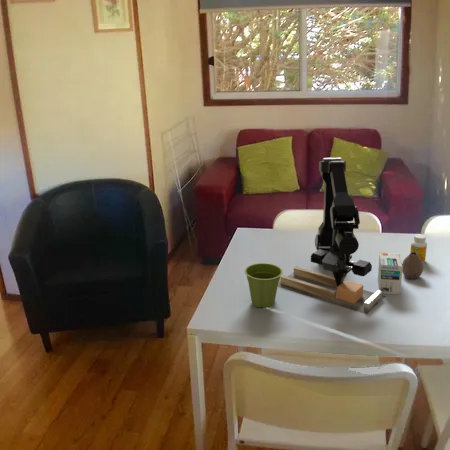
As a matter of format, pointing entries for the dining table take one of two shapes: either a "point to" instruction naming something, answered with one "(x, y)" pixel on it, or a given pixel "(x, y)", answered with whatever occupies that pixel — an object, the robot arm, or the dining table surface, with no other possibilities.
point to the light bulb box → (390, 273)
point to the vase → (412, 266)
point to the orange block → (350, 291)
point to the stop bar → (372, 300)
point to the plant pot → (263, 283)
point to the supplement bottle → (419, 246)
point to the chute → (321, 288)
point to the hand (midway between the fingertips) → (338, 286)
